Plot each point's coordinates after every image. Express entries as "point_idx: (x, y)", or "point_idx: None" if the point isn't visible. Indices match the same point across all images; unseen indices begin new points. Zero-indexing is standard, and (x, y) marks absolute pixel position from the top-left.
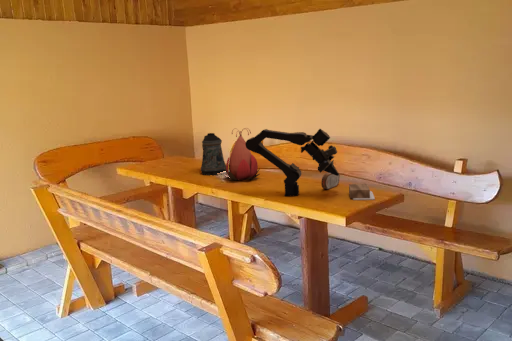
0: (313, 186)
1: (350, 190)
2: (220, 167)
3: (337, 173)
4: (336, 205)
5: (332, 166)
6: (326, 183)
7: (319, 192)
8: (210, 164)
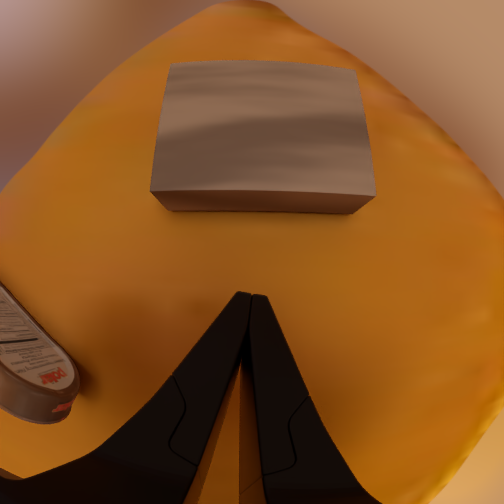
0: (19, 421)
1: (375, 196)
2: None
3: (275, 322)
4: (460, 309)
5: (354, 482)
6: (62, 381)
7: None
8: None
